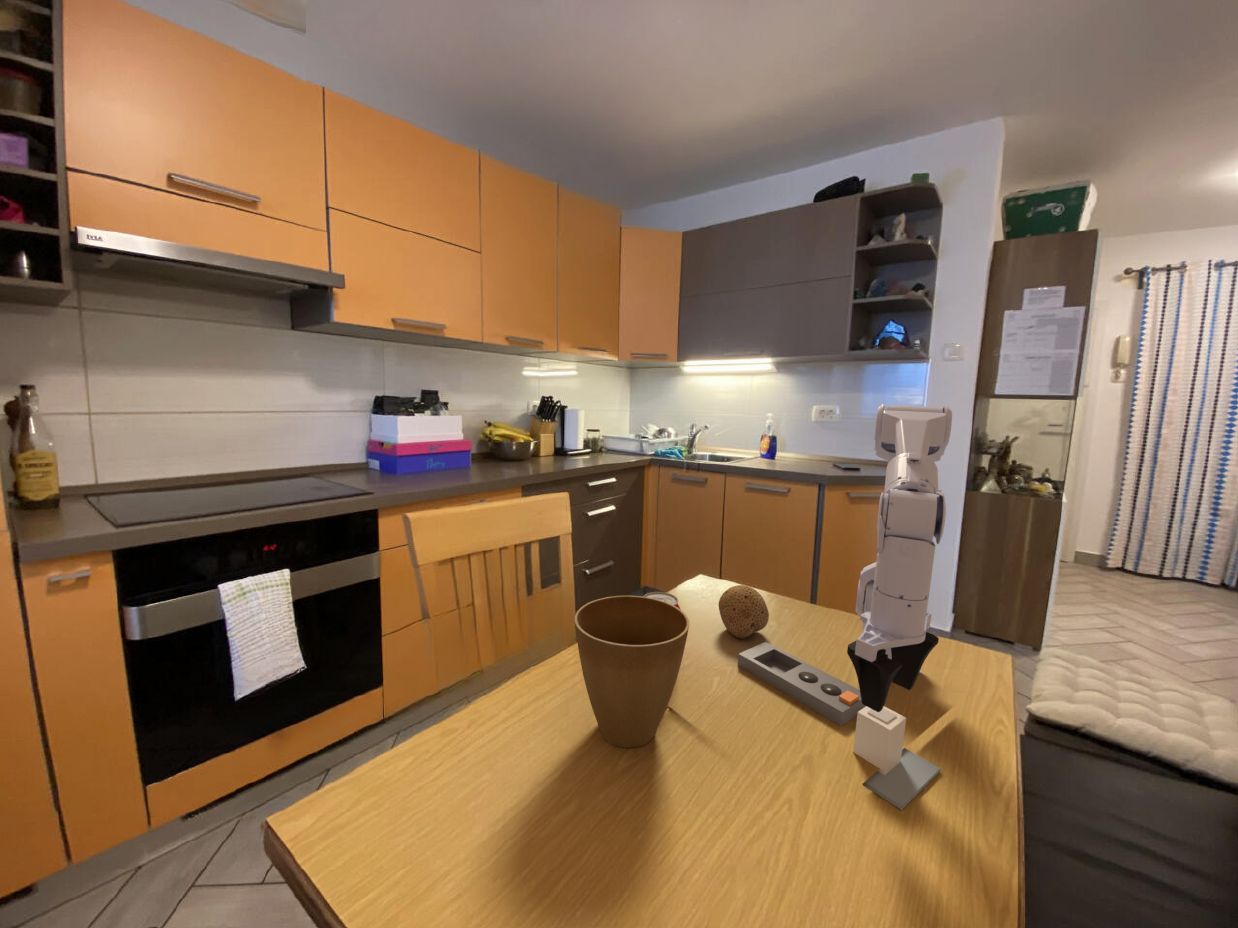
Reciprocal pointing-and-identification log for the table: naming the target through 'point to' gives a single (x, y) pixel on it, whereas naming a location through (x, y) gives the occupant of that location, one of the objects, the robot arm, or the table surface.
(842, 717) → the power strip
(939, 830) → the table surface
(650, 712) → the plant pot
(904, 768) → the mat
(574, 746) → the table surface
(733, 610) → the natural sponge
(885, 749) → the block
